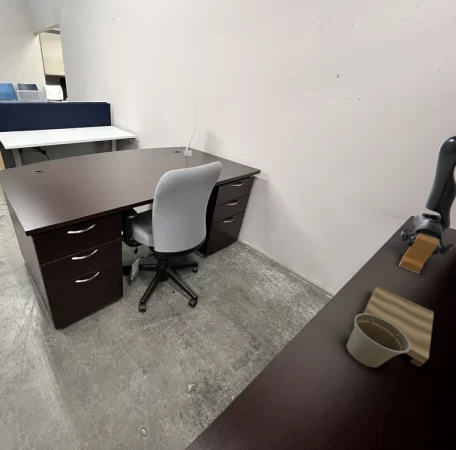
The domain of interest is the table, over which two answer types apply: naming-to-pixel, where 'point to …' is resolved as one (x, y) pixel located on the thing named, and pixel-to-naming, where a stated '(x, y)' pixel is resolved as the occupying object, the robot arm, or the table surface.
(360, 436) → the table surface
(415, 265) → the orange block
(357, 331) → the flower pot
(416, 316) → the wooden board
